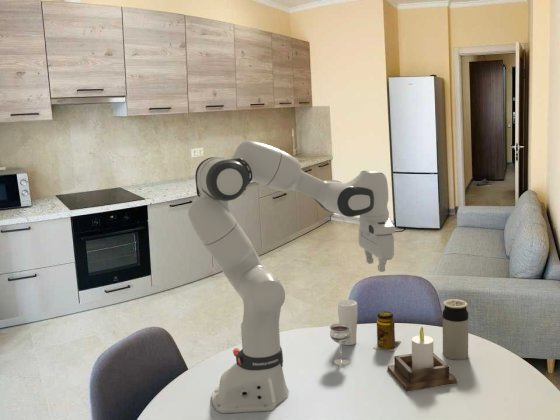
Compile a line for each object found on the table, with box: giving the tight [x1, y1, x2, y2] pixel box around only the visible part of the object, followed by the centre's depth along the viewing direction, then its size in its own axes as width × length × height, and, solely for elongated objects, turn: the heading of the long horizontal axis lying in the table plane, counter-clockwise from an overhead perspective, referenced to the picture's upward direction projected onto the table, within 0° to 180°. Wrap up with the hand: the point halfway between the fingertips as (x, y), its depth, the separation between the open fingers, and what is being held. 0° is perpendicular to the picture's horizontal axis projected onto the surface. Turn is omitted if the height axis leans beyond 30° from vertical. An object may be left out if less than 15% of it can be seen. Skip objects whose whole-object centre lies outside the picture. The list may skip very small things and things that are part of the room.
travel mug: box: [442, 298, 469, 361], centre depth 176 cm, size 8×8×18 cm
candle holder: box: [386, 352, 458, 392], centre depth 164 cm, size 16×14×5 cm
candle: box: [411, 326, 434, 370], centre depth 163 cm, size 6×6×15 cm
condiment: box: [373, 310, 401, 352], centre depth 186 cm, size 7×8×12 cm
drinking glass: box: [337, 299, 358, 346], centre depth 190 cm, size 7×7×15 cm
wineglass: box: [329, 322, 351, 366], centre depth 176 cm, size 7×7×12 cm
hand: (375, 267), depth 166 cm, fingers open, 8 cm apart
